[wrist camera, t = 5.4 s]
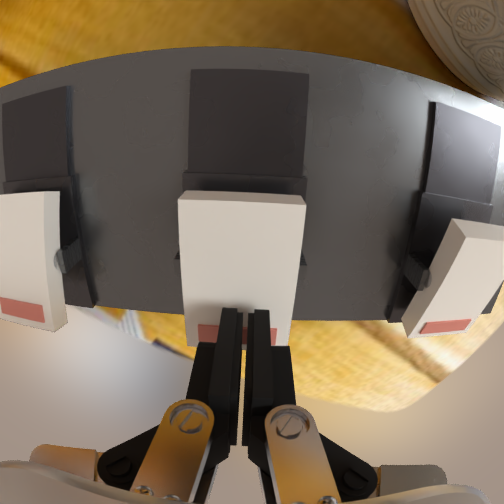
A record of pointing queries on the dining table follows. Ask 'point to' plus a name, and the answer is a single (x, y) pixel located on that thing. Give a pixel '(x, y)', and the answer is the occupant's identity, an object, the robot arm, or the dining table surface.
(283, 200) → the rocker
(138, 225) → the switch box
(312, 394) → the dining table surface
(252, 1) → the dining table surface
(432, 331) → the rocker
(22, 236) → the rocker
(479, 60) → the jar
